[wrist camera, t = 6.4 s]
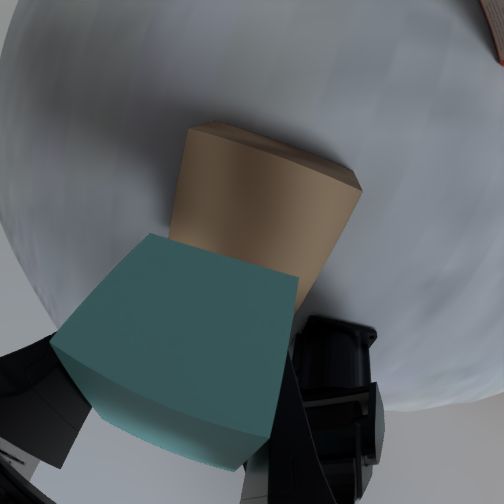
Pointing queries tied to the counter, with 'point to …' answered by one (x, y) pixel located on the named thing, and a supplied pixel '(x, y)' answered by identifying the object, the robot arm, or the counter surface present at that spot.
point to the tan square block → (261, 201)
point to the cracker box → (496, 23)
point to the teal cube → (184, 349)
